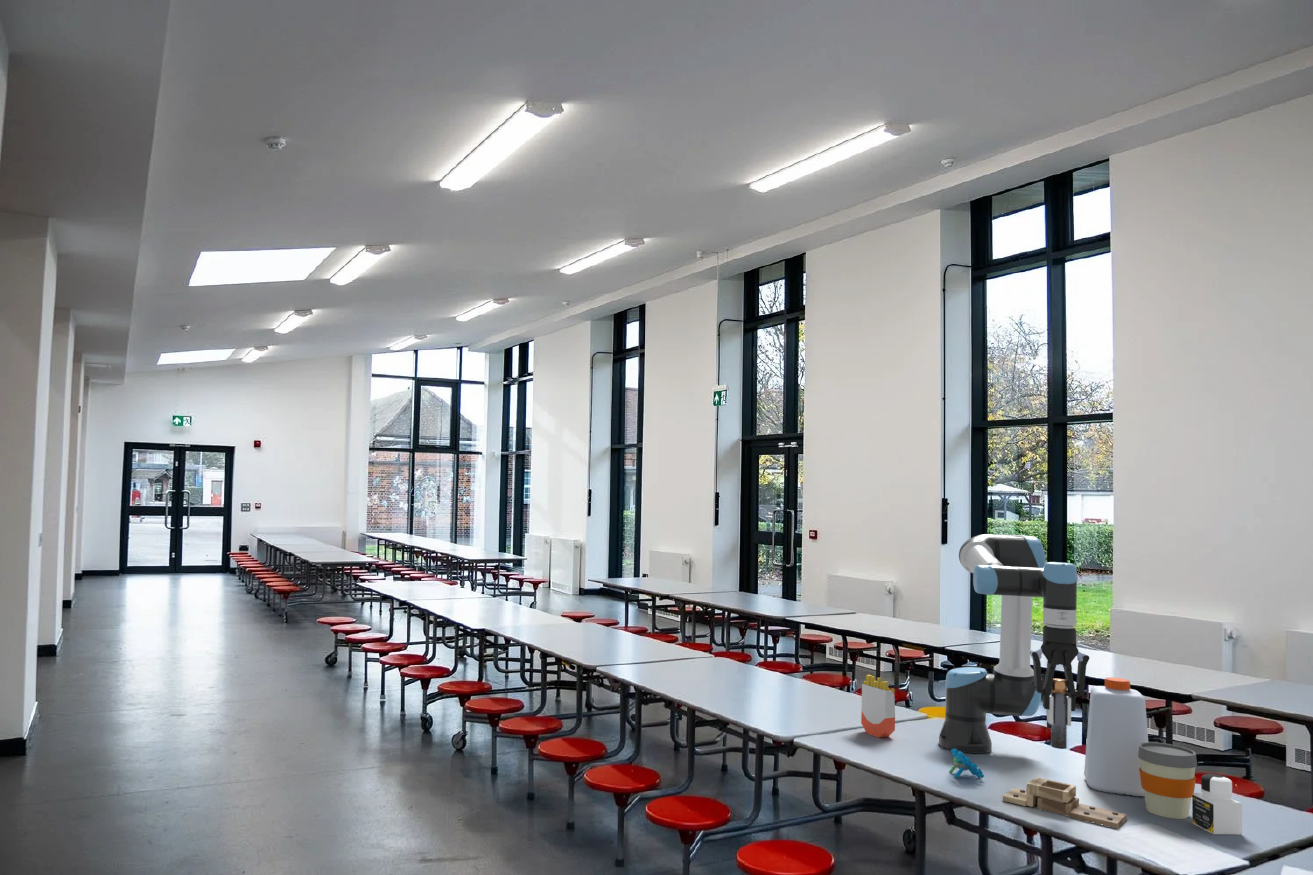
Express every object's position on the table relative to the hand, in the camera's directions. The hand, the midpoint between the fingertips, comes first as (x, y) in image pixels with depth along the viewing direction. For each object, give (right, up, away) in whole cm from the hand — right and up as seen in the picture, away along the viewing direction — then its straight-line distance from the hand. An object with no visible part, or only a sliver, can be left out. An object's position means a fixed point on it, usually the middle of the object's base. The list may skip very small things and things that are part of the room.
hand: (1058, 723), depth 218 cm
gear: (-15, -22, +22) cm, 34 cm away
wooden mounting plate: (+3, -20, -5) cm, 21 cm away
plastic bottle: (+24, -23, +18) cm, 38 cm away
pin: (0, -6, 0) cm, 6 cm away
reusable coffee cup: (+26, -22, 0) cm, 34 cm away
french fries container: (-28, -24, +64) cm, 74 cm away
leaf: (-4, -20, +1) cm, 21 cm away
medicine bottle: (+31, -21, -11) cm, 39 cm away
